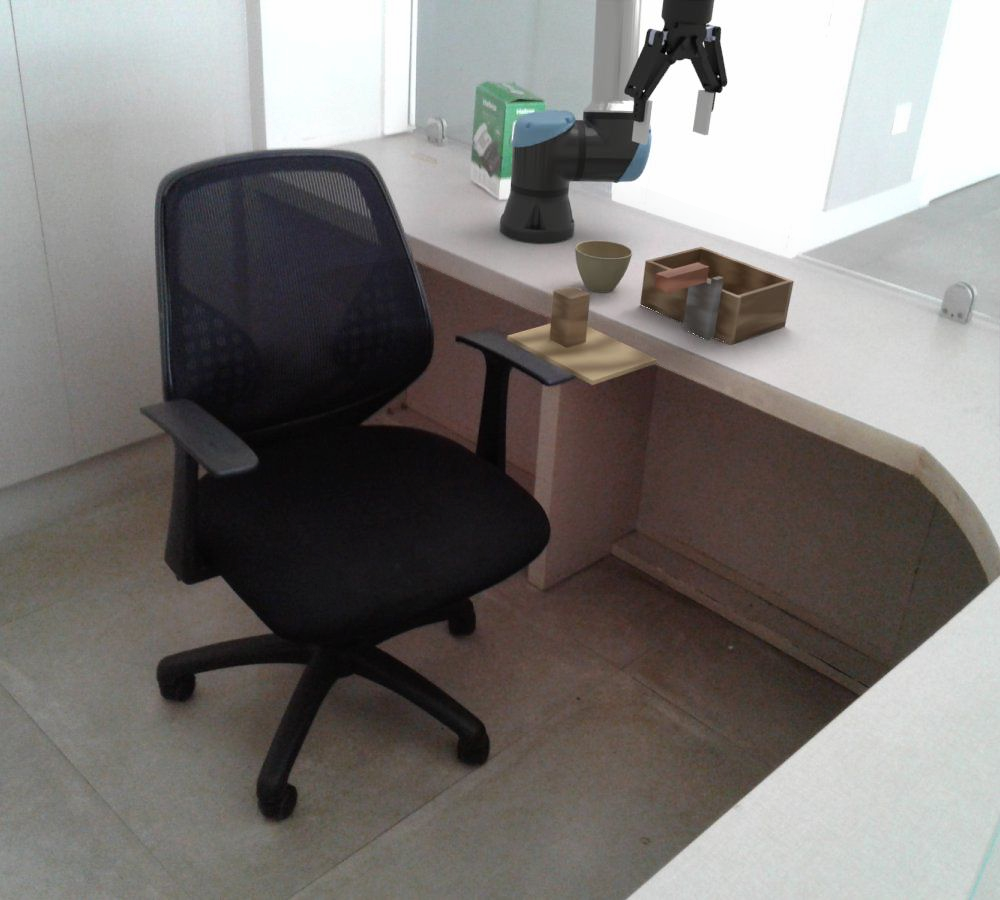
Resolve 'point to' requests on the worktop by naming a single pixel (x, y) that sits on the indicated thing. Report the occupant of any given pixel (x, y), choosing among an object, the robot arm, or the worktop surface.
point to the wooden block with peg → (579, 342)
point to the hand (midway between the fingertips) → (670, 138)
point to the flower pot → (602, 264)
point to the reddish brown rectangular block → (681, 277)
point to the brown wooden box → (720, 297)
